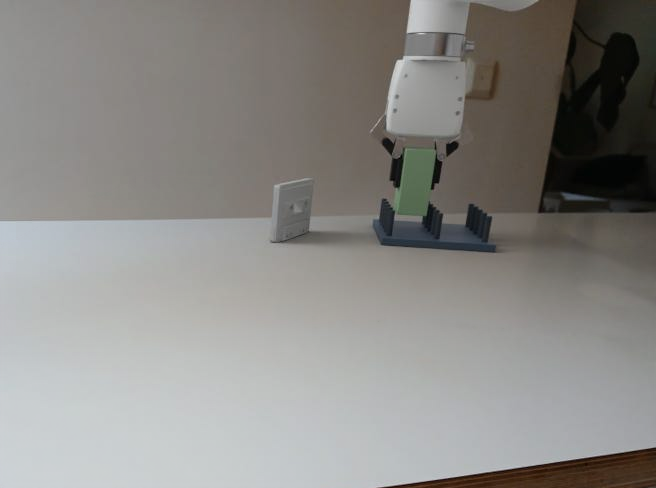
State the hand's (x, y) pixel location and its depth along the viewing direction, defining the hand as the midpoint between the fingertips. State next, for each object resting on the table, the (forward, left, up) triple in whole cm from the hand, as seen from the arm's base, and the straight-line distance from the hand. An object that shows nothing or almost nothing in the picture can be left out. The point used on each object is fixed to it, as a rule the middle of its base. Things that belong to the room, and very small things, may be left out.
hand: (413, 186), depth 106 cm
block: (0, 0, -4) cm, 4 cm away
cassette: (+17, +6, -7) cm, 19 cm away
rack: (-3, 0, -7) cm, 8 cm away
